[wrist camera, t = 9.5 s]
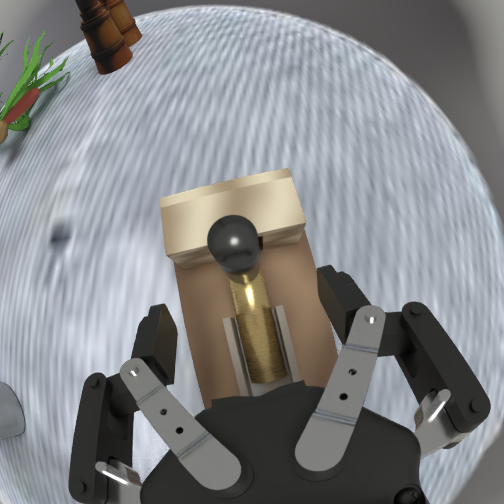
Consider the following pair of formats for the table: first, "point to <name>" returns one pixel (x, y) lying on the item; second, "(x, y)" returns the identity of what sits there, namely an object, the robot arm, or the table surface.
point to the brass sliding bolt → (248, 295)
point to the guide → (275, 276)
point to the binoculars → (108, 32)
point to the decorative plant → (25, 92)
